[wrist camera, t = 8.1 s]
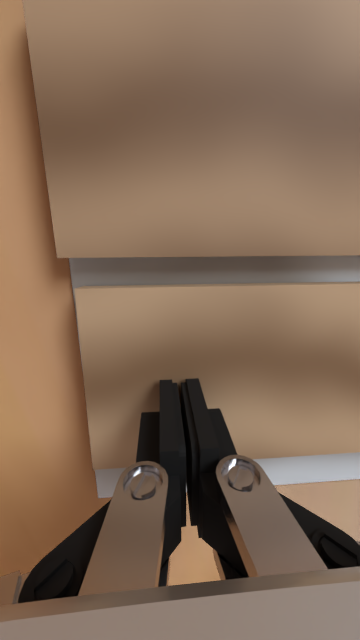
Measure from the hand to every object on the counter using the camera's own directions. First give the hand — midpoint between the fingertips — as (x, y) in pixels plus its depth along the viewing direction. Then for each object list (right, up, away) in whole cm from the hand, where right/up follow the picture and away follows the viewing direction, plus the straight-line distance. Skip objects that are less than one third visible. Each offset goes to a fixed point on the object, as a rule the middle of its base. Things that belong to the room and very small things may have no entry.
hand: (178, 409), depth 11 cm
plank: (+5, +2, +1) cm, 5 cm away
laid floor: (+5, +4, +1) cm, 7 cm away
